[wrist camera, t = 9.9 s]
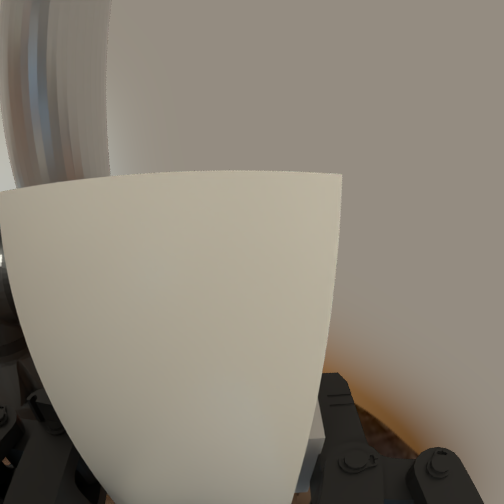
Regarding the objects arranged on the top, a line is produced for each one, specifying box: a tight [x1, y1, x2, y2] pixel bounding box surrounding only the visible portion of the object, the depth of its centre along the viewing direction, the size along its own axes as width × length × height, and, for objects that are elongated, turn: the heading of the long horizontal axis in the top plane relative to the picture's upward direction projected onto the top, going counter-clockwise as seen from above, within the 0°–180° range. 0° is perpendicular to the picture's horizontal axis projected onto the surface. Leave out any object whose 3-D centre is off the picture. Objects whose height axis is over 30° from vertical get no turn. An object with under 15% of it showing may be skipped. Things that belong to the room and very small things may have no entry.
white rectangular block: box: [0, 171, 342, 504], centre depth 7 cm, size 4×5×16 cm
